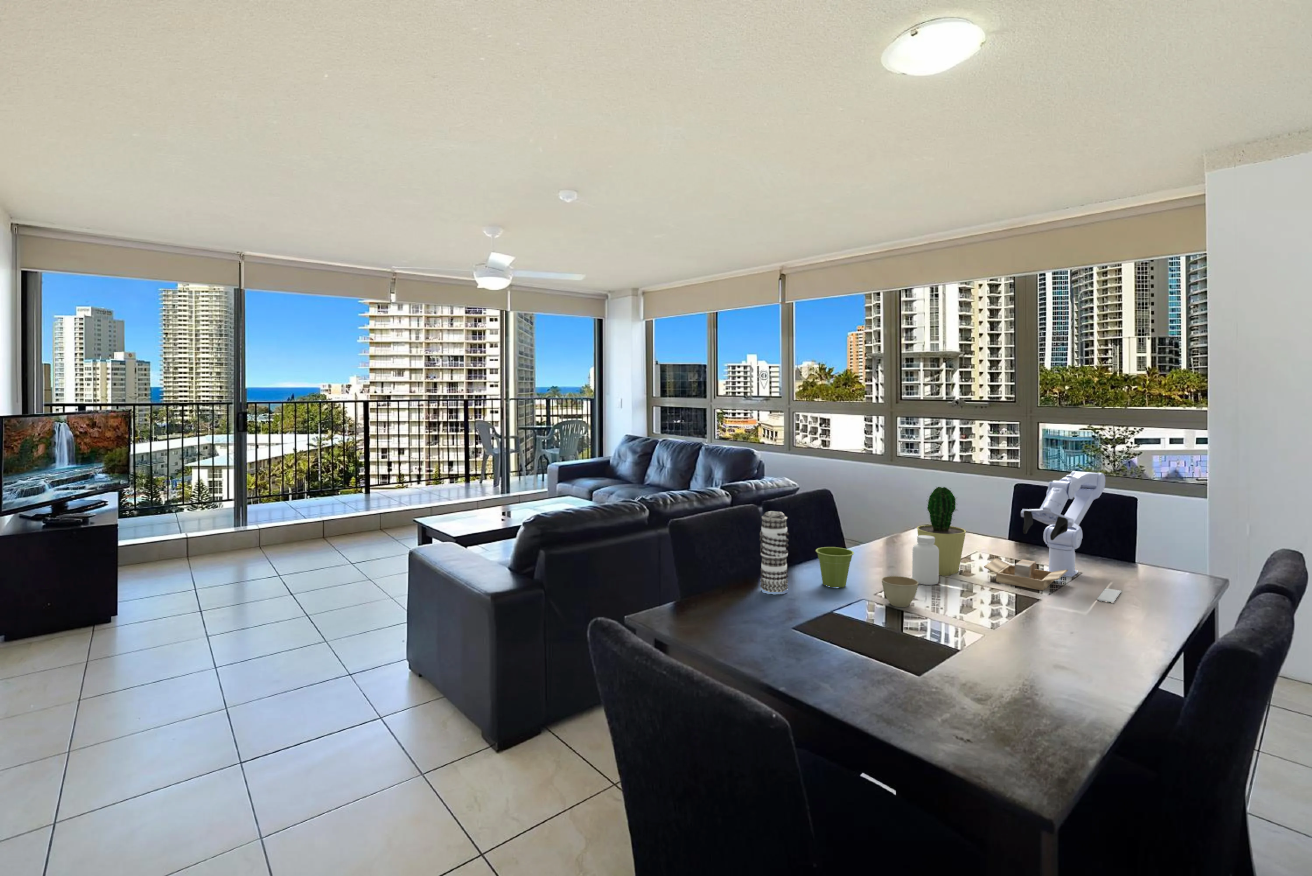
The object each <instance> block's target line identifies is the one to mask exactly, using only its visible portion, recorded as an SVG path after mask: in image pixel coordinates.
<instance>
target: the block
mask: <svg viewBox="0 0 1312 876" xmlns="http://www.w3.org/2000/svg"><path fill="white" fill-rule="evenodd" d="M1036 563H1037V562H1036V561H1034V560H1028V559H1021V560H1019V561H1018V562H1016V563H1015V564H1014V566H1015V576H1020V577H1026V578H1032V579H1035V572H1036V567H1037V565H1036Z"/></svg>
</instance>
